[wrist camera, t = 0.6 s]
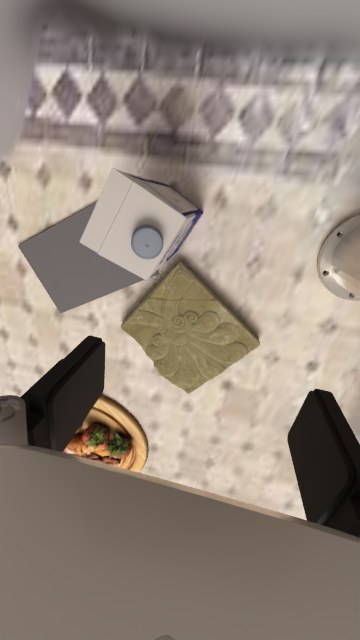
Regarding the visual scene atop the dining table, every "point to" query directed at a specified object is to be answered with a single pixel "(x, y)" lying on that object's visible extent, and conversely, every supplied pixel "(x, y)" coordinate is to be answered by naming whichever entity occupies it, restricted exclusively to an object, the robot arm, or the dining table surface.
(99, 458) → the wooden plate with food
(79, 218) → the mat
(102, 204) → the milk carton
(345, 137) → the dining table surface
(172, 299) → the decorative tile
